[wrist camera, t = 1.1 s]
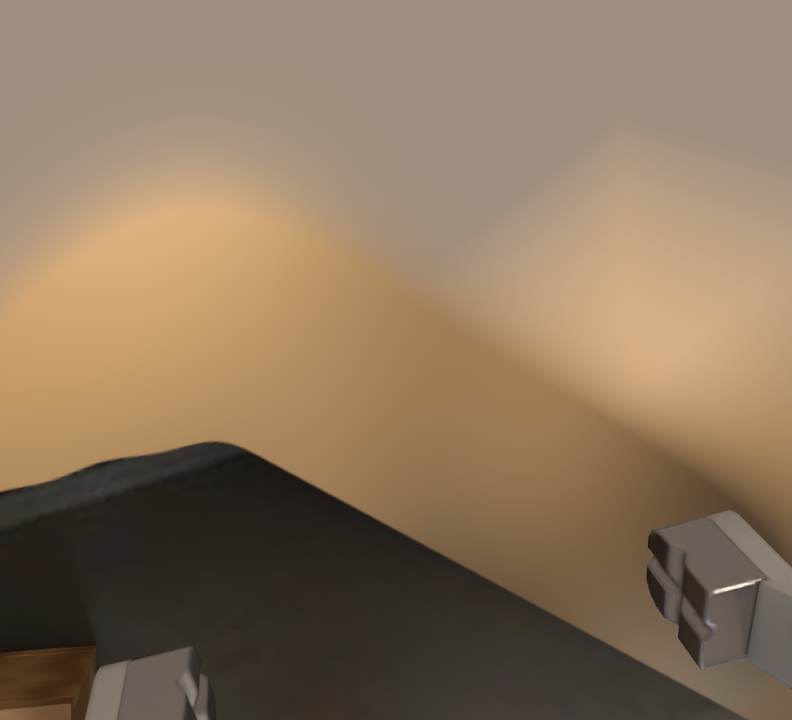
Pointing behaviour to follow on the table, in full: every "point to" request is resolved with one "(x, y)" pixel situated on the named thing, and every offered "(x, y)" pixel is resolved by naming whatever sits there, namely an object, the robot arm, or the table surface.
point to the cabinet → (47, 683)
